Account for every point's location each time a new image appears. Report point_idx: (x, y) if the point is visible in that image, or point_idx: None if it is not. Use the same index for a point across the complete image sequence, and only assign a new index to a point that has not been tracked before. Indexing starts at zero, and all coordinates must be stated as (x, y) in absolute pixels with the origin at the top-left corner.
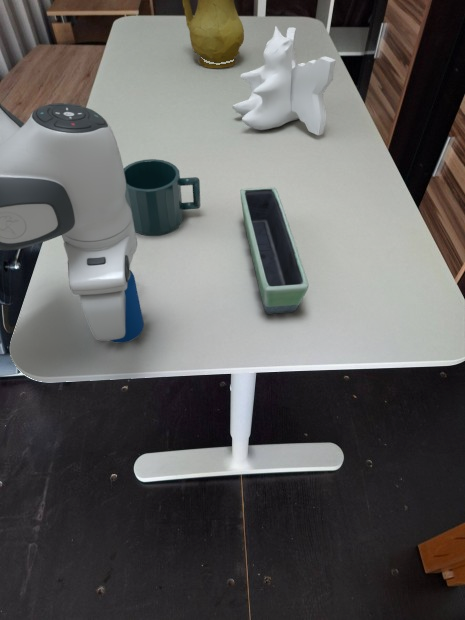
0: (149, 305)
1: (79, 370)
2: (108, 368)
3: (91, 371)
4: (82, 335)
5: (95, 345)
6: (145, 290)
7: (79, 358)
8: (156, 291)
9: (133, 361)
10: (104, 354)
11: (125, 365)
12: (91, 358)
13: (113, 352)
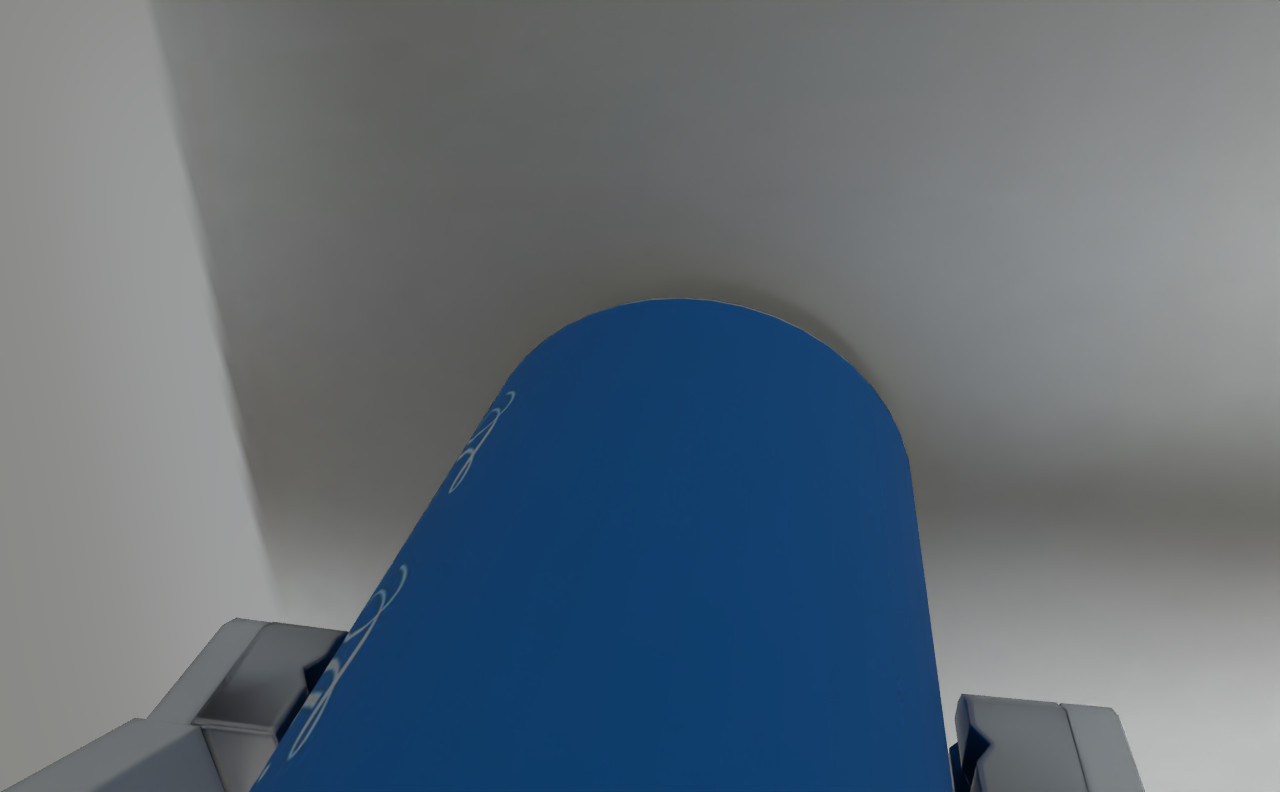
0: (975, 683)
1: (197, 51)
2: (256, 325)
3: (204, 175)
4: (670, 40)
5: (515, 201)
6: (1213, 680)
7: (342, 36)
8: (1154, 755)
9: (345, 511)
10: (404, 290)
11: (301, 454)
12: (351, 167)
13: (430, 368)
